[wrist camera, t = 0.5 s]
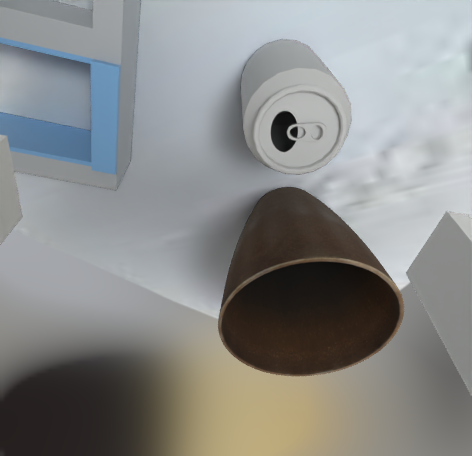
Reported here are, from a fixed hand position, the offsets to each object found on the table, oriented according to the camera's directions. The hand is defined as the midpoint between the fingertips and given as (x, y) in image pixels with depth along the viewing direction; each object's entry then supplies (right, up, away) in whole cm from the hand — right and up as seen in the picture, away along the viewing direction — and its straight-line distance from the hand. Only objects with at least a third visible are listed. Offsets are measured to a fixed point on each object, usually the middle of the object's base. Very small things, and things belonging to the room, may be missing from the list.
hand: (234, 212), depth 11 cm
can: (+4, +13, +22) cm, 26 cm away
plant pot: (+6, +1, +31) cm, 32 cm away
